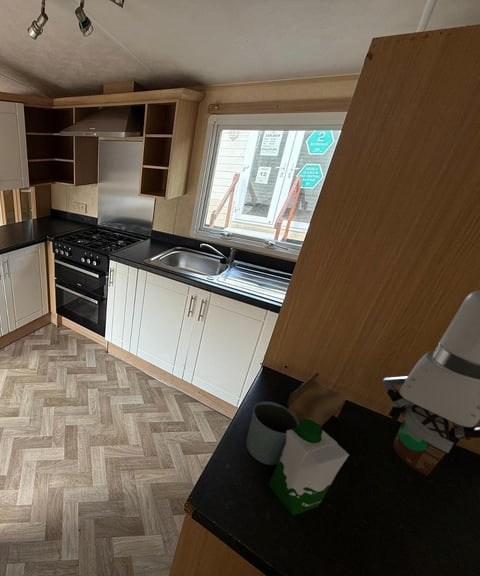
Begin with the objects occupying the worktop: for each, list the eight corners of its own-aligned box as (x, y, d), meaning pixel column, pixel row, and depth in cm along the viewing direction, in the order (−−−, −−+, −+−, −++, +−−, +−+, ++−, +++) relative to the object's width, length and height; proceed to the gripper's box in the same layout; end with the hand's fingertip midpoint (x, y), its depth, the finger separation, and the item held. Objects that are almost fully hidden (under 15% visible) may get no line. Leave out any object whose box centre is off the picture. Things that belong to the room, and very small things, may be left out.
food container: (387, 422, 69) (407, 388, 65) (425, 438, 66) (449, 403, 61) (383, 460, 61) (405, 424, 57) (427, 481, 57) (454, 445, 53)
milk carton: (291, 471, 76) (317, 413, 67) (325, 510, 68) (359, 450, 59) (261, 481, 74) (284, 422, 65) (292, 522, 66) (323, 461, 57)
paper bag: (338, 415, 91) (350, 390, 87) (313, 443, 83) (325, 416, 78) (306, 397, 98) (316, 372, 93) (280, 421, 89) (289, 395, 85)
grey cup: (237, 450, 81) (247, 418, 75) (249, 426, 88) (259, 394, 82) (280, 476, 75) (295, 442, 70) (290, 447, 82) (303, 414, 76)
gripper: (549, 380, 49) (486, 455, 57) (405, 330, 61) (370, 397, 69) (546, 402, 45) (479, 479, 53) (393, 343, 58) (357, 412, 65)
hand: (417, 432), depth 61 cm, fingers closed on food container, 6 cm apart
